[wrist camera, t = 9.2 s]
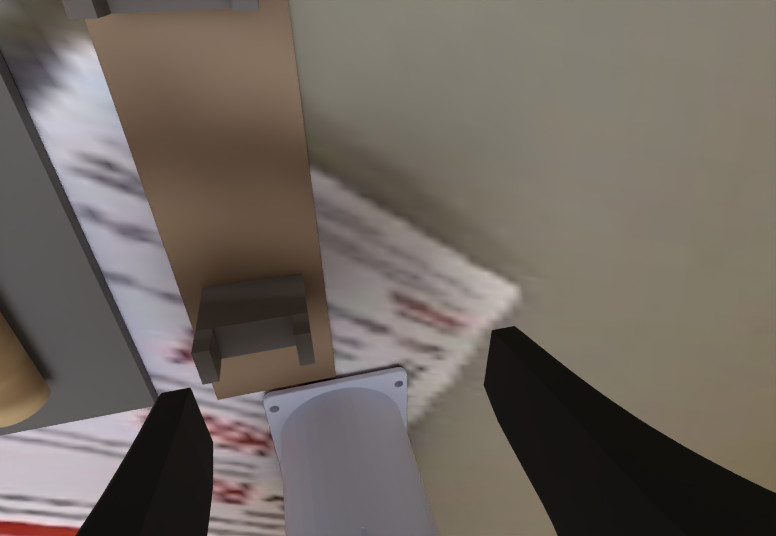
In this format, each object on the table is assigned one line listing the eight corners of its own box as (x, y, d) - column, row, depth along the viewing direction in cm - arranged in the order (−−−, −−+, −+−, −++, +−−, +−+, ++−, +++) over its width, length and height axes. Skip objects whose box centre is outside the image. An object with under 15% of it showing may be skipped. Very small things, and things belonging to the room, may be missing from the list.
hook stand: (333, 363, 25) (348, 440, 21) (218, 385, 24) (211, 471, 20) (245, -318, 11) (238, -471, 7) (-27, -339, 10) (-205, -530, 6)
